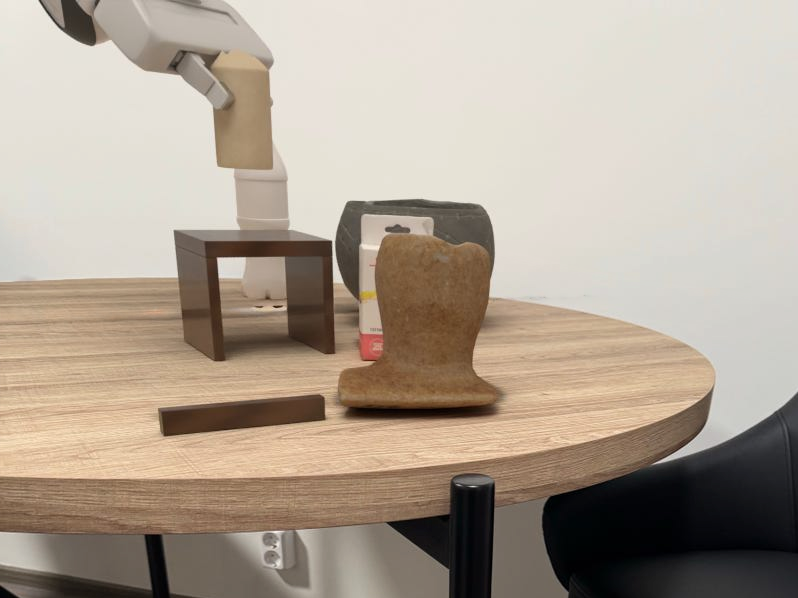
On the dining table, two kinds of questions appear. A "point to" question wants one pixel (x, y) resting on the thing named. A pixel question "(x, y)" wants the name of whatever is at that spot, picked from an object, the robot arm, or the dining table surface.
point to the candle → (243, 113)
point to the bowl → (449, 225)
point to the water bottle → (263, 225)
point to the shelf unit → (301, 251)
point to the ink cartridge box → (368, 254)
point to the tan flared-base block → (425, 327)
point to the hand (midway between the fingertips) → (247, 106)
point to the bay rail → (241, 414)
